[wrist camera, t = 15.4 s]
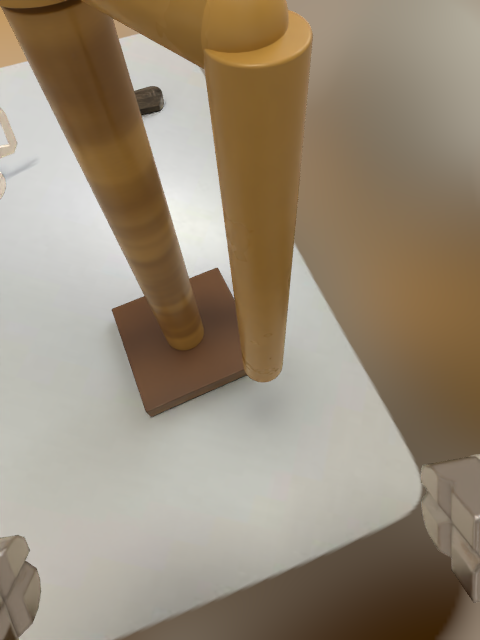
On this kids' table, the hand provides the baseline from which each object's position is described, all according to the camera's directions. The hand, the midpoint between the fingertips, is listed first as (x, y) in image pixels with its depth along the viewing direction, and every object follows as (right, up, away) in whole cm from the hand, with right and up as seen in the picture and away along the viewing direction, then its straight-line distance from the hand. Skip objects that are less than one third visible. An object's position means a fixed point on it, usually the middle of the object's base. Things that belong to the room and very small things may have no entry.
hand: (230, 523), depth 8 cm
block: (-12, +31, +43) cm, 54 cm away
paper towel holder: (-4, +2, +27) cm, 27 cm away
